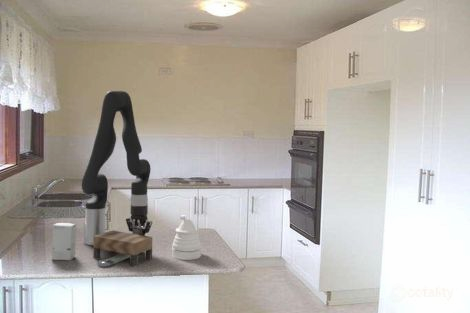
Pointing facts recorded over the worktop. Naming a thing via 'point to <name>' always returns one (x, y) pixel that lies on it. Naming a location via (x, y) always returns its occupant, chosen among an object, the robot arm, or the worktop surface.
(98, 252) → the walnut table
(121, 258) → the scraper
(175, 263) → the worktop surface
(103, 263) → the disc
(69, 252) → the skincare box
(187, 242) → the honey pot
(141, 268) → the worktop surface
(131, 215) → the robot arm
